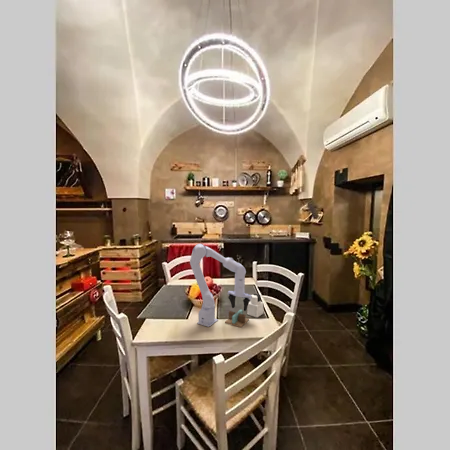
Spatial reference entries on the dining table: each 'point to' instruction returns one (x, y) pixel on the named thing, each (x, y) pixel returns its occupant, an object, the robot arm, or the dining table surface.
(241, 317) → the joint base
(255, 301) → the medicine bottle
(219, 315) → the dining table surface
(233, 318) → the teal block
